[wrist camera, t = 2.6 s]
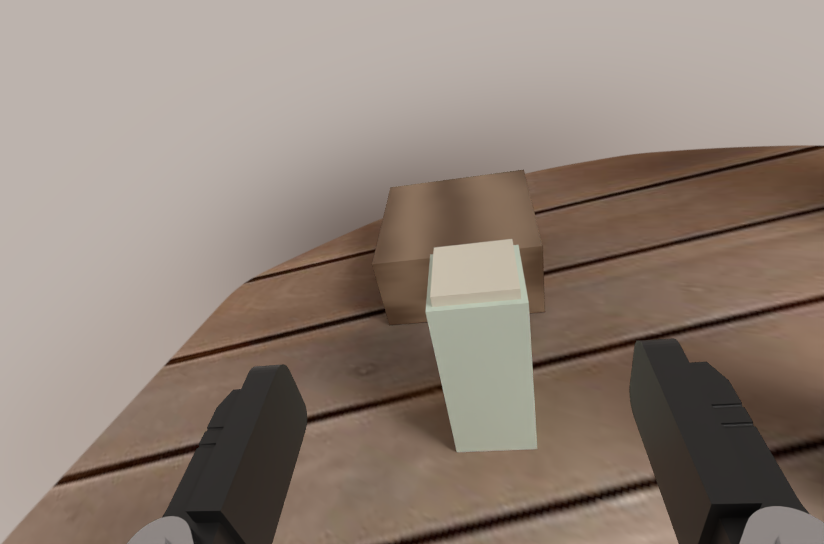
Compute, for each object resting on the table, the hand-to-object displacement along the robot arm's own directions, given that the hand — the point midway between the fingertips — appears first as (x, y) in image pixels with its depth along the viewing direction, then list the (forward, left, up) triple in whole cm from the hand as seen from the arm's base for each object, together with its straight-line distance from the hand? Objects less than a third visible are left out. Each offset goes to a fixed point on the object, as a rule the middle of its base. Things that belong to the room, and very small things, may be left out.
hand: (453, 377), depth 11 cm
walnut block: (-15, -22, -17) cm, 31 cm away
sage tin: (-7, -9, -17) cm, 20 cm away
